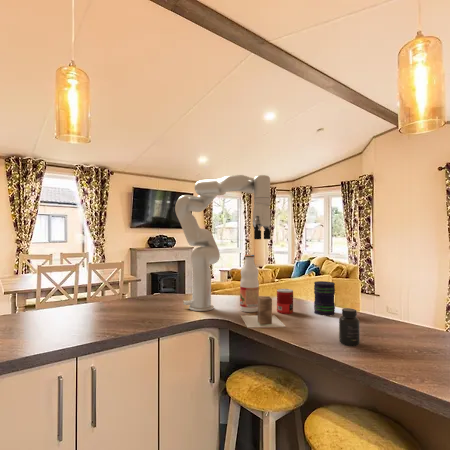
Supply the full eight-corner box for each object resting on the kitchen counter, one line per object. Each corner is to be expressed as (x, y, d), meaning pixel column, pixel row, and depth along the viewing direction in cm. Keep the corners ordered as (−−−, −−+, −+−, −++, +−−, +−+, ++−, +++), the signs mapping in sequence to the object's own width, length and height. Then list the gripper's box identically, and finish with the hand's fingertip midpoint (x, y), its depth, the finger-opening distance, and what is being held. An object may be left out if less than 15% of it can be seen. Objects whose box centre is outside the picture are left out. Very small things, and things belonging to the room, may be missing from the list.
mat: (247, 327, 131) (247, 326, 131) (241, 316, 149) (241, 315, 149) (285, 327, 133) (285, 326, 133) (274, 316, 151) (274, 315, 151)
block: (260, 325, 133) (260, 299, 134) (257, 322, 138) (257, 296, 139) (271, 325, 134) (271, 298, 134) (268, 322, 139) (269, 296, 139)
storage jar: (327, 316, 150) (327, 284, 151) (309, 312, 158) (310, 282, 158) (338, 313, 157) (338, 283, 157) (321, 309, 164) (321, 280, 165)
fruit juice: (254, 313, 155) (255, 255, 156) (236, 311, 160) (237, 255, 160) (261, 309, 164) (261, 254, 165) (244, 307, 168) (244, 254, 169)
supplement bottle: (335, 340, 117) (335, 307, 117) (353, 340, 117) (353, 307, 118) (344, 347, 110) (344, 311, 110) (363, 346, 111) (363, 311, 111)
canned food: (293, 314, 154) (293, 291, 154) (276, 313, 156) (276, 290, 156) (293, 311, 161) (293, 289, 162) (277, 310, 163) (277, 288, 163)
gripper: (263, 204, 158) (263, 239, 157) (246, 201, 143) (246, 239, 143) (277, 203, 154) (277, 239, 153) (261, 200, 139) (261, 239, 138)
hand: (262, 239), depth 148 cm, fingers open, 9 cm apart
